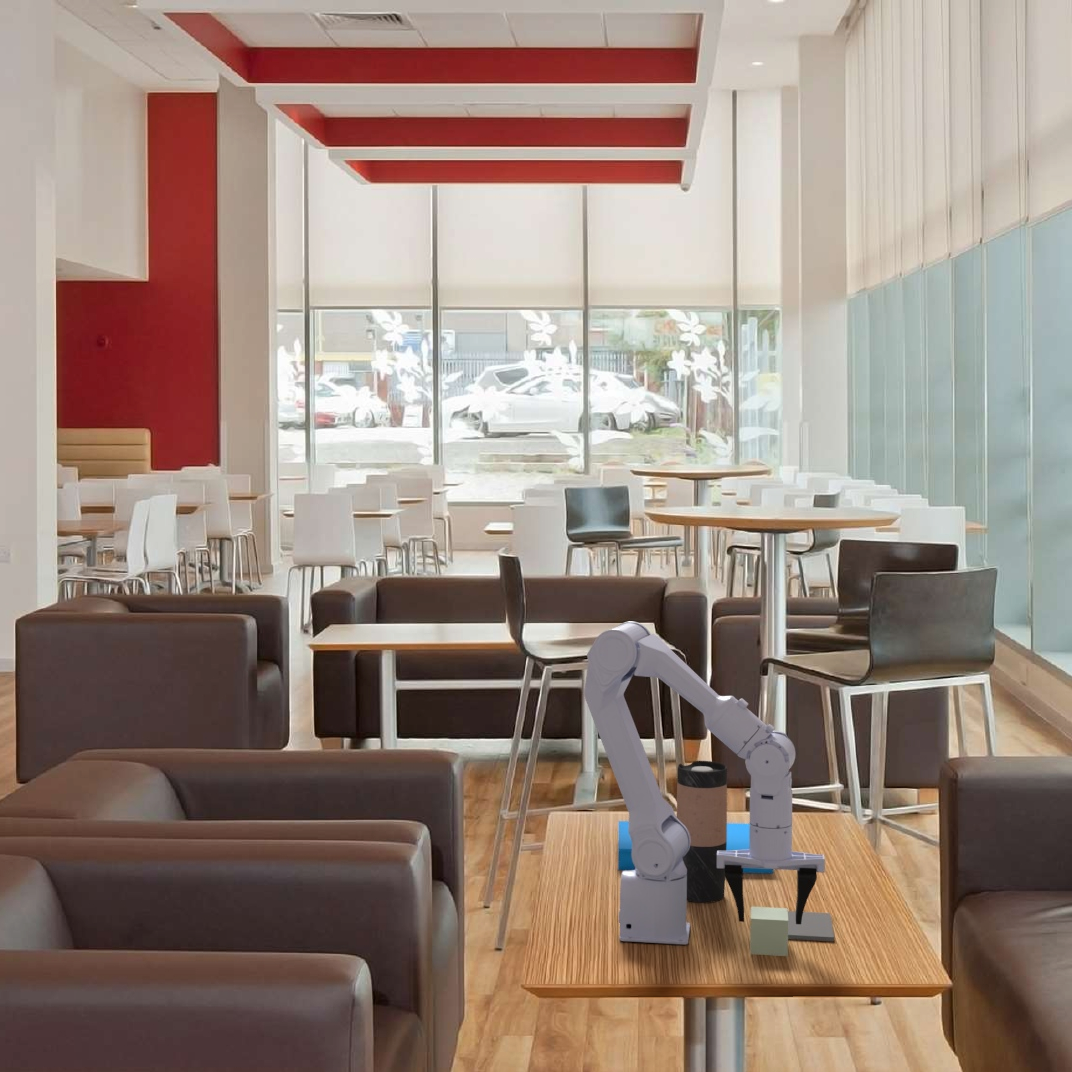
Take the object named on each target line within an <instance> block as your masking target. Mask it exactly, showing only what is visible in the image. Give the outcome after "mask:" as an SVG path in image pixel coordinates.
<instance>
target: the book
mask: <svg viewBox="0 0 1072 1072" xmlns="http://www.w3.org/2000/svg"><path fill="white" fill-rule="evenodd" d="M628 828H629V820H627V821H626V820H618V849H617V850H618V858H617V859H618V861H617V862H618V865H617V866H618V869H617V870H618V871H631V870H635V866H634V864H633V861H632V855H631V852H632V841H631V838H630V835H629V832H628ZM749 830H750V823H743V822H742V823H740V822H739V823H735V822H733V823H732V822H731V823H730V822H727V841H726V842H727V846H726V851H731V850H747V849H749ZM744 873H745V874H749V873H750V874H774V869H759V868H743V874H744Z"/></svg>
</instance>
